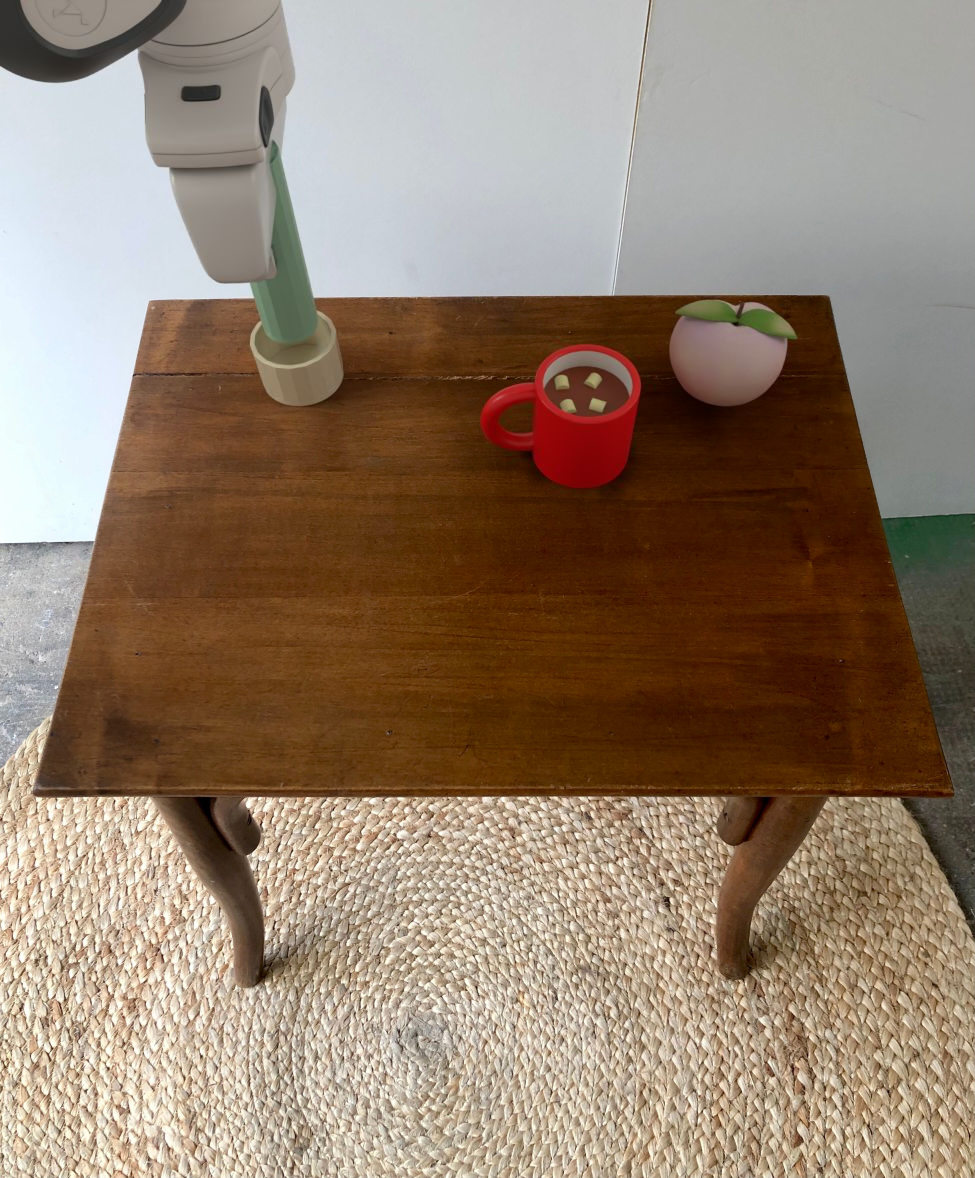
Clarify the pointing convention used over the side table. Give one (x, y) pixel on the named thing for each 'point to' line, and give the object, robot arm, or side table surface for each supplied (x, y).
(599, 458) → the mug
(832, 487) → the side table surface
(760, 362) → the decorative fruit
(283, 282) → the bottle
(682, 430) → the side table surface
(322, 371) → the holder
